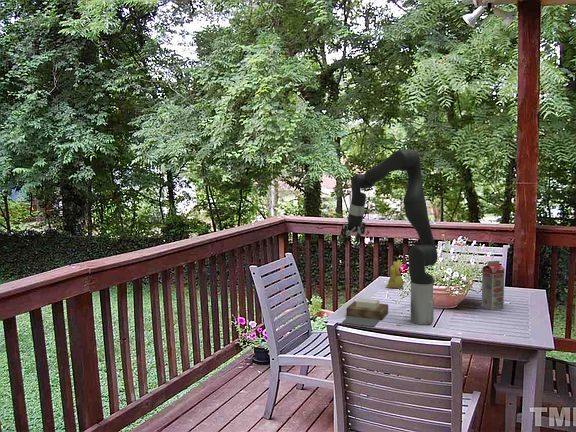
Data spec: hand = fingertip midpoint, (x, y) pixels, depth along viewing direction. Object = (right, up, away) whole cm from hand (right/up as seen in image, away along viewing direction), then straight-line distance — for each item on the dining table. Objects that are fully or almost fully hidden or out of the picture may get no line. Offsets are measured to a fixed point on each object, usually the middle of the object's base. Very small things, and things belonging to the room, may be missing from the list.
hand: (351, 242), depth 252 cm
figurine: (+27, -26, +19) cm, 42 cm away
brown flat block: (+4, -31, -30) cm, 43 cm away
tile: (+4, -26, -30) cm, 40 cm away
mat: (-1, -32, -40) cm, 51 cm away
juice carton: (+63, -29, -22) cm, 73 cm away
